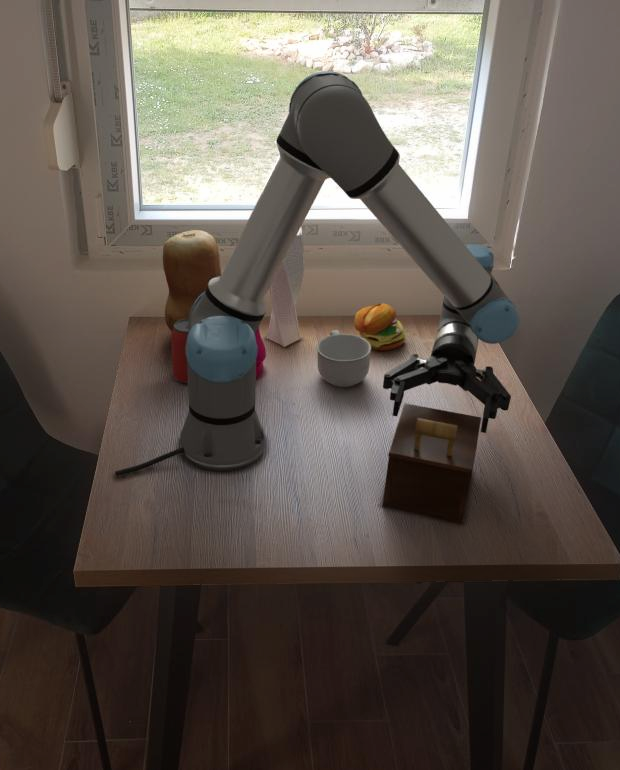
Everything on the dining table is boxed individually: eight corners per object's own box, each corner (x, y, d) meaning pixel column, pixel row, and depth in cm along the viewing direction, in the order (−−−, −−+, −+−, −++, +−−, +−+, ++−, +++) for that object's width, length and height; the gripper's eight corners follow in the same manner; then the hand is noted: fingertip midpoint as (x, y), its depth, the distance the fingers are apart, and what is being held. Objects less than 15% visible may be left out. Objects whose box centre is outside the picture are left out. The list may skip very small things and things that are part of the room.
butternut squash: (165, 326, 182) (160, 222, 168) (224, 324, 183) (223, 220, 170) (166, 356, 170) (160, 247, 157) (229, 354, 171) (228, 245, 158)
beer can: (192, 388, 159) (191, 335, 153) (166, 378, 162) (163, 327, 156) (211, 374, 164) (210, 322, 158) (185, 365, 167) (183, 314, 161)
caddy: (461, 524, 126) (472, 470, 121) (382, 506, 130) (389, 453, 124) (470, 473, 137) (480, 421, 132) (396, 458, 141) (403, 407, 135)
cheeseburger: (410, 353, 172) (404, 313, 167) (361, 362, 174) (354, 323, 169) (403, 330, 181) (397, 292, 176) (357, 339, 182) (349, 301, 177)
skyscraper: (258, 337, 178) (261, 218, 163) (281, 327, 182) (286, 209, 167) (284, 350, 173) (289, 228, 158) (307, 339, 177) (314, 219, 163)
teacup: (370, 394, 159) (373, 359, 154) (316, 392, 159) (318, 358, 154) (363, 359, 170) (366, 326, 166) (313, 358, 170) (315, 325, 166)
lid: (472, 473, 120) (478, 440, 116) (388, 456, 123) (392, 423, 120) (480, 421, 132) (486, 389, 128) (403, 406, 135) (407, 375, 132)
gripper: (523, 383, 138) (518, 452, 121) (381, 359, 145) (358, 421, 127) (531, 345, 134) (528, 411, 117) (385, 322, 141) (362, 382, 124)
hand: (439, 417), depth 122 cm, fingers open, 13 cm apart
